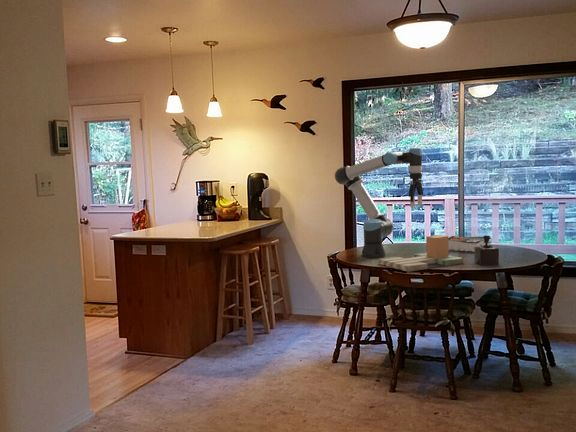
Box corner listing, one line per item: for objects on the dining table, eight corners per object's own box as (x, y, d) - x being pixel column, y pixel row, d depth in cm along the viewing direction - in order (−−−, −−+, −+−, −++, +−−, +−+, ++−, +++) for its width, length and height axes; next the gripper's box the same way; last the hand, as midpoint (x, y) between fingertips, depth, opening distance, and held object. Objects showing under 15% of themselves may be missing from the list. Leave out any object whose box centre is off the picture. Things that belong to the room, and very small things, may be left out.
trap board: (378, 264, 333) (378, 259, 333) (431, 256, 350) (431, 251, 350) (408, 271, 308) (408, 266, 307) (463, 263, 325) (463, 258, 325)
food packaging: (441, 239, 370) (455, 234, 388) (441, 250, 371) (455, 245, 388) (478, 241, 354) (491, 236, 372) (478, 253, 355) (491, 248, 372)
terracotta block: (426, 256, 336) (426, 236, 334) (439, 254, 340) (439, 234, 339) (435, 258, 328) (435, 237, 327) (448, 256, 333) (448, 236, 332)
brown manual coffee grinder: (472, 262, 326) (472, 232, 324) (490, 261, 327) (490, 230, 325) (484, 267, 311) (484, 235, 309) (503, 266, 312) (503, 234, 310)
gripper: (414, 173, 339) (415, 208, 341) (427, 171, 359) (428, 204, 362) (402, 173, 343) (403, 207, 345) (416, 171, 363) (417, 204, 366)
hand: (416, 206), depth 353 cm, fingers open, 13 cm apart
